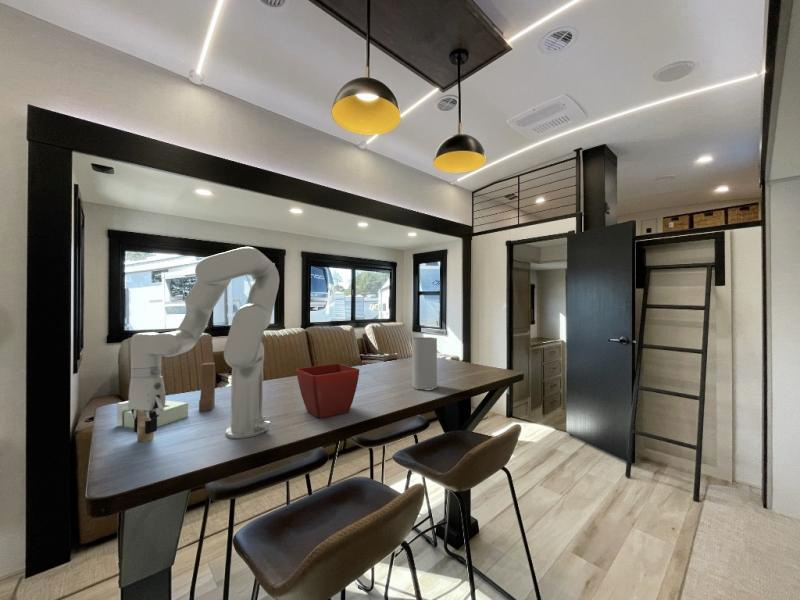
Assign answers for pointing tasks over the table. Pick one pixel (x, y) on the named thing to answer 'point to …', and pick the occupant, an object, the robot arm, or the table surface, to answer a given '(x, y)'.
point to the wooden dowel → (143, 427)
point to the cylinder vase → (424, 362)
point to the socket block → (163, 414)
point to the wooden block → (207, 387)
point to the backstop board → (121, 412)
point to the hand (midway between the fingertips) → (145, 431)
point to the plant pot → (328, 388)
